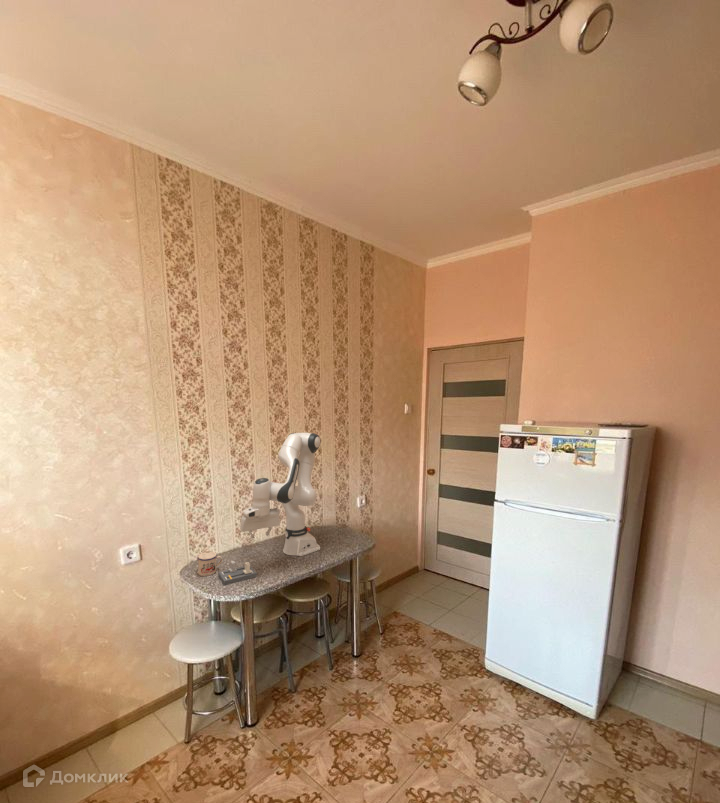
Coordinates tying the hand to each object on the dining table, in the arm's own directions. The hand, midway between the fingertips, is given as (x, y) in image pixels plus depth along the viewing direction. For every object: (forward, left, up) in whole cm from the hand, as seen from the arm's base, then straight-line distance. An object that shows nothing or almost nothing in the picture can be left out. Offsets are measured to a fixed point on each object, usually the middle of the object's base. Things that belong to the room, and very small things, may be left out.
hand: (260, 536), depth 189 cm
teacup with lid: (+21, -15, -20) cm, 33 cm away
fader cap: (+6, 0, -17) cm, 18 cm away
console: (+10, -3, -19) cm, 22 cm away
